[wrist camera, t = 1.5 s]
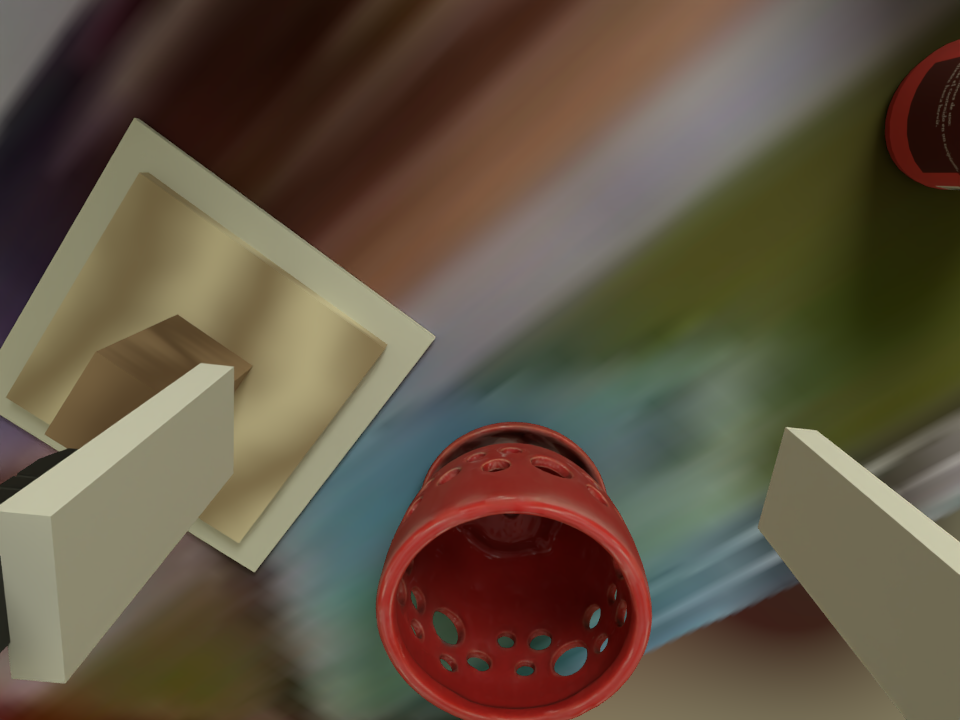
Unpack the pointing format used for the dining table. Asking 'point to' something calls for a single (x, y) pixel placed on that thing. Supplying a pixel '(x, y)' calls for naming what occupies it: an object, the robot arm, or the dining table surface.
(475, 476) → the plant pot
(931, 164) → the canned food
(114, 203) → the mat
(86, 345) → the lid
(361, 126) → the dining table surface
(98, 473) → the robot arm
